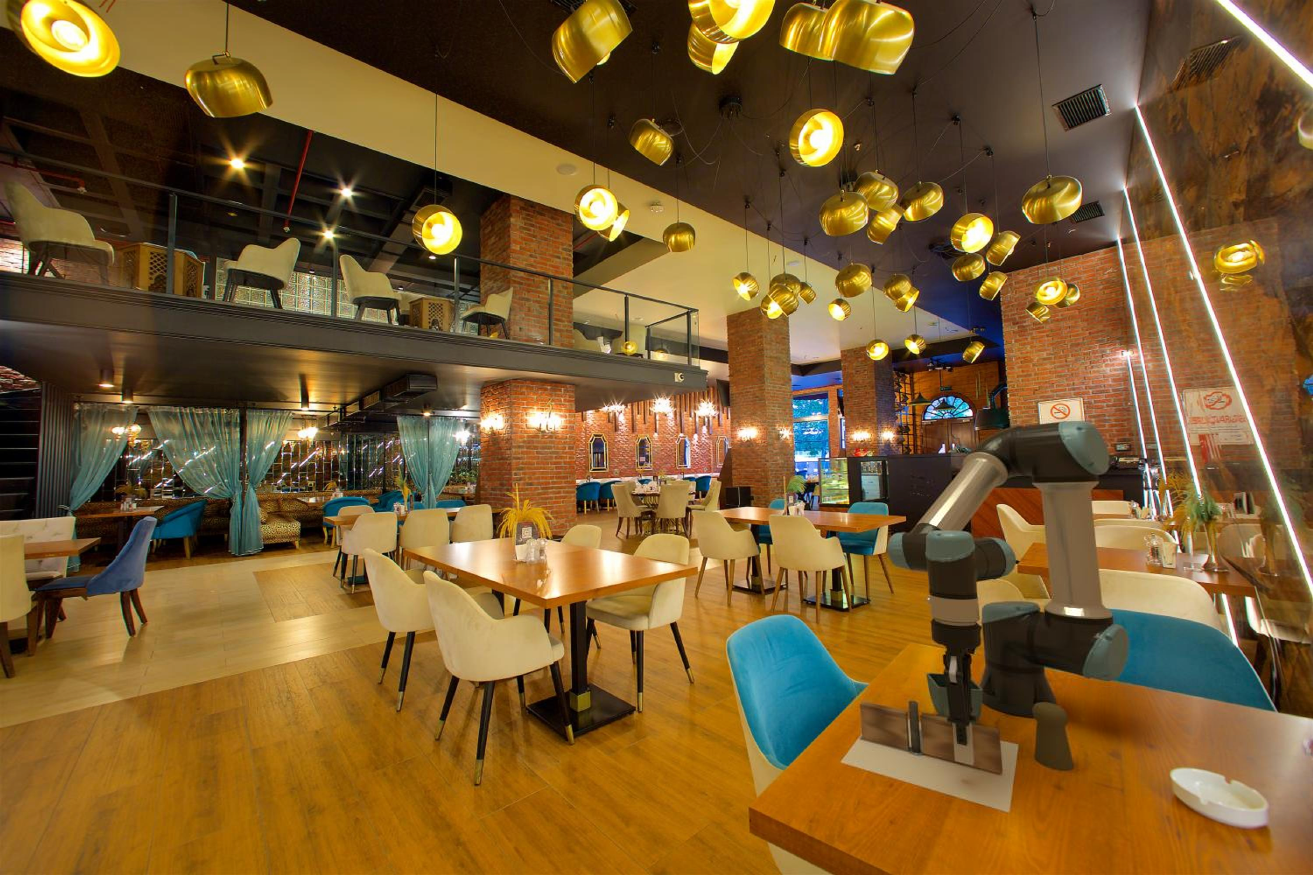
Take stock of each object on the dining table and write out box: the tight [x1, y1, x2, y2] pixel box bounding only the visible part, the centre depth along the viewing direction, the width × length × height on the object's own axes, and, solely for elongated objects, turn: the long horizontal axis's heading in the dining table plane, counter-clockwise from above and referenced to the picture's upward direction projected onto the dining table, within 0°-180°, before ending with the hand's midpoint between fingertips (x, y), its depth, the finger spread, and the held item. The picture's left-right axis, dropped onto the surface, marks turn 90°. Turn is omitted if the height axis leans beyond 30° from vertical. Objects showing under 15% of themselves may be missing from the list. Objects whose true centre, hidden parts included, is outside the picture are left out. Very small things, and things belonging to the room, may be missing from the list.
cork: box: [1032, 702, 1075, 772], centre depth 96 cm, size 6×6×11 cm
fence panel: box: [919, 711, 1003, 774], centre depth 96 cm, size 12×2×7 cm, turn 53°
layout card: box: [840, 718, 1019, 814], centre depth 99 cm, size 26×26×1 cm
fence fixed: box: [859, 700, 921, 753], centre depth 103 cm, size 11×2×9 cm, turn 53°
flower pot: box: [925, 672, 983, 724], centre depth 114 cm, size 9×9×9 cm
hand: (964, 761), depth 90 cm, fingers closed
